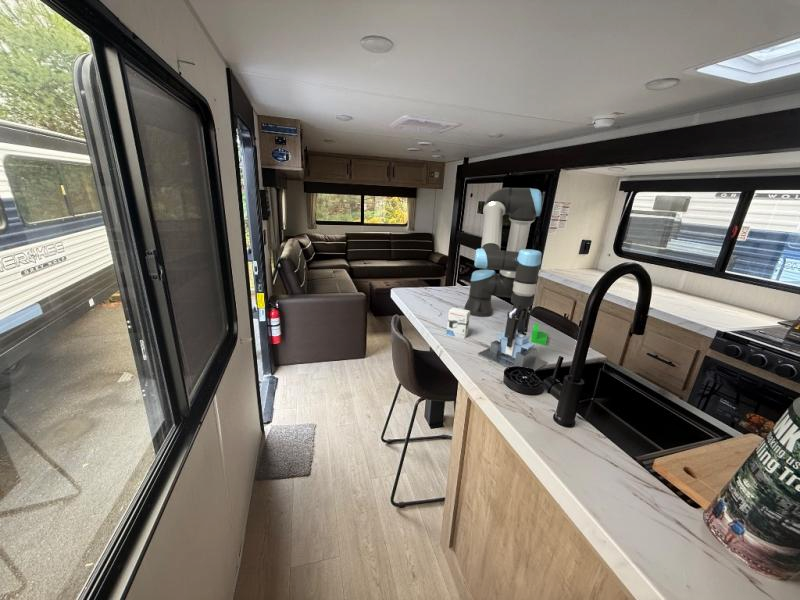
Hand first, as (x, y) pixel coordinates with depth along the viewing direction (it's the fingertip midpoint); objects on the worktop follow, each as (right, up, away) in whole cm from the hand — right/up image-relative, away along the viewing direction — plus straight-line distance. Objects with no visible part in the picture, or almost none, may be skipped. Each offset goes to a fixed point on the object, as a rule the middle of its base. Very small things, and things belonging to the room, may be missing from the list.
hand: (512, 352), depth 117 cm
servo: (0, -1, 0) cm, 1 cm away
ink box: (-18, +4, +20) cm, 27 cm away
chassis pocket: (0, -3, +1) cm, 3 cm away
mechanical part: (+19, +2, +21) cm, 29 cm away
